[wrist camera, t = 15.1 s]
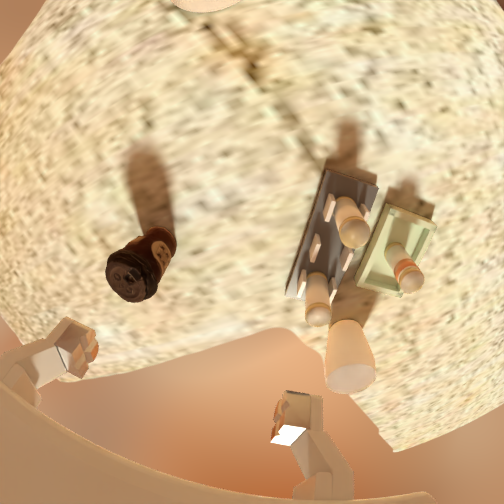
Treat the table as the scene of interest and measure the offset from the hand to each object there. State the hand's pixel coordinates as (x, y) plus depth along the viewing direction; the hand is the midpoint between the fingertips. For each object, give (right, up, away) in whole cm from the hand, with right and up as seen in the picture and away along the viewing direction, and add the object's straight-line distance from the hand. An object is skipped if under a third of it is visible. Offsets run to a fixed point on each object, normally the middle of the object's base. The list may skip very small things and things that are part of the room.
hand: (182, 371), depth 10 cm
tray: (+26, +5, +32) cm, 41 cm away
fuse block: (+15, +6, +33) cm, 37 cm away
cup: (+21, -11, +42) cm, 48 cm away
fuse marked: (+26, +5, +32) cm, 41 cm away
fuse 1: (+13, 0, +35) cm, 38 cm away
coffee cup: (-13, +6, +38) cm, 41 cm away
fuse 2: (+16, +11, +29) cm, 35 cm away
